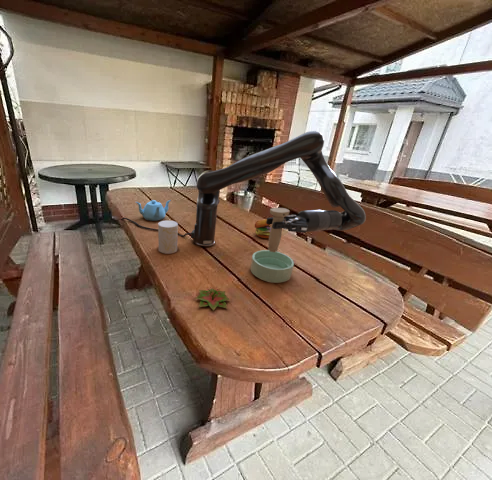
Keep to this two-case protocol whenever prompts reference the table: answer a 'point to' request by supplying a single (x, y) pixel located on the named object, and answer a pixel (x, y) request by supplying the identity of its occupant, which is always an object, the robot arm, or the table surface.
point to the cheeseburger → (262, 228)
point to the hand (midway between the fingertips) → (270, 223)
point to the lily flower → (212, 298)
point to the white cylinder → (167, 236)
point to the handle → (276, 233)
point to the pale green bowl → (272, 266)
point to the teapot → (153, 210)
